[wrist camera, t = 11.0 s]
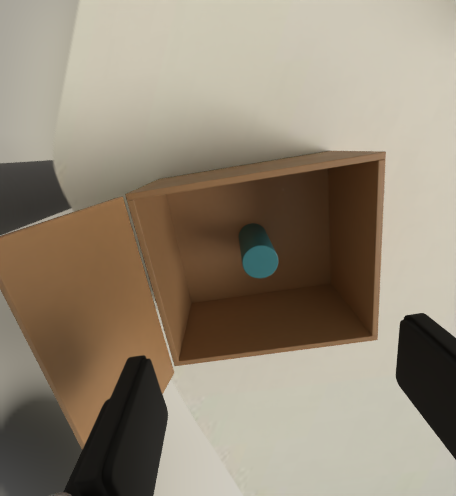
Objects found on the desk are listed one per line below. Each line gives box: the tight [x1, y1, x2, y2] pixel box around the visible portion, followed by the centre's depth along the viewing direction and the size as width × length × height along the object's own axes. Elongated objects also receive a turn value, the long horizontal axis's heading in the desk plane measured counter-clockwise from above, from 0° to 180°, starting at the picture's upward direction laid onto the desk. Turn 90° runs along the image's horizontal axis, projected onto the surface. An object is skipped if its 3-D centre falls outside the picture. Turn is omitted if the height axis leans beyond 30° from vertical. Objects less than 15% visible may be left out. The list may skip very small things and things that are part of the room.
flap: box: [0, 197, 174, 450], centre depth 14 cm, size 7×13×1 cm
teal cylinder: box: [239, 223, 278, 278], centre depth 22 cm, size 3×3×6 cm
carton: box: [125, 151, 386, 366], centre depth 21 cm, size 15×13×8 cm
